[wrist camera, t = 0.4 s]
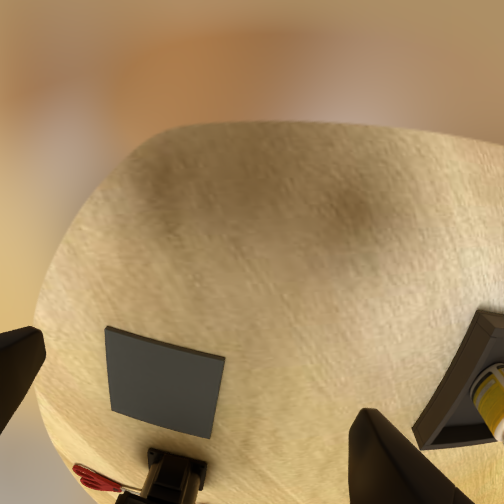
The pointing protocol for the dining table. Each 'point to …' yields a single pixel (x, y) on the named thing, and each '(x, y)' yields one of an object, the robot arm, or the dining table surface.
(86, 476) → the scissors
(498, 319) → the tray
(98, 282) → the dining table surface
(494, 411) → the supplement bottle
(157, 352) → the mat
